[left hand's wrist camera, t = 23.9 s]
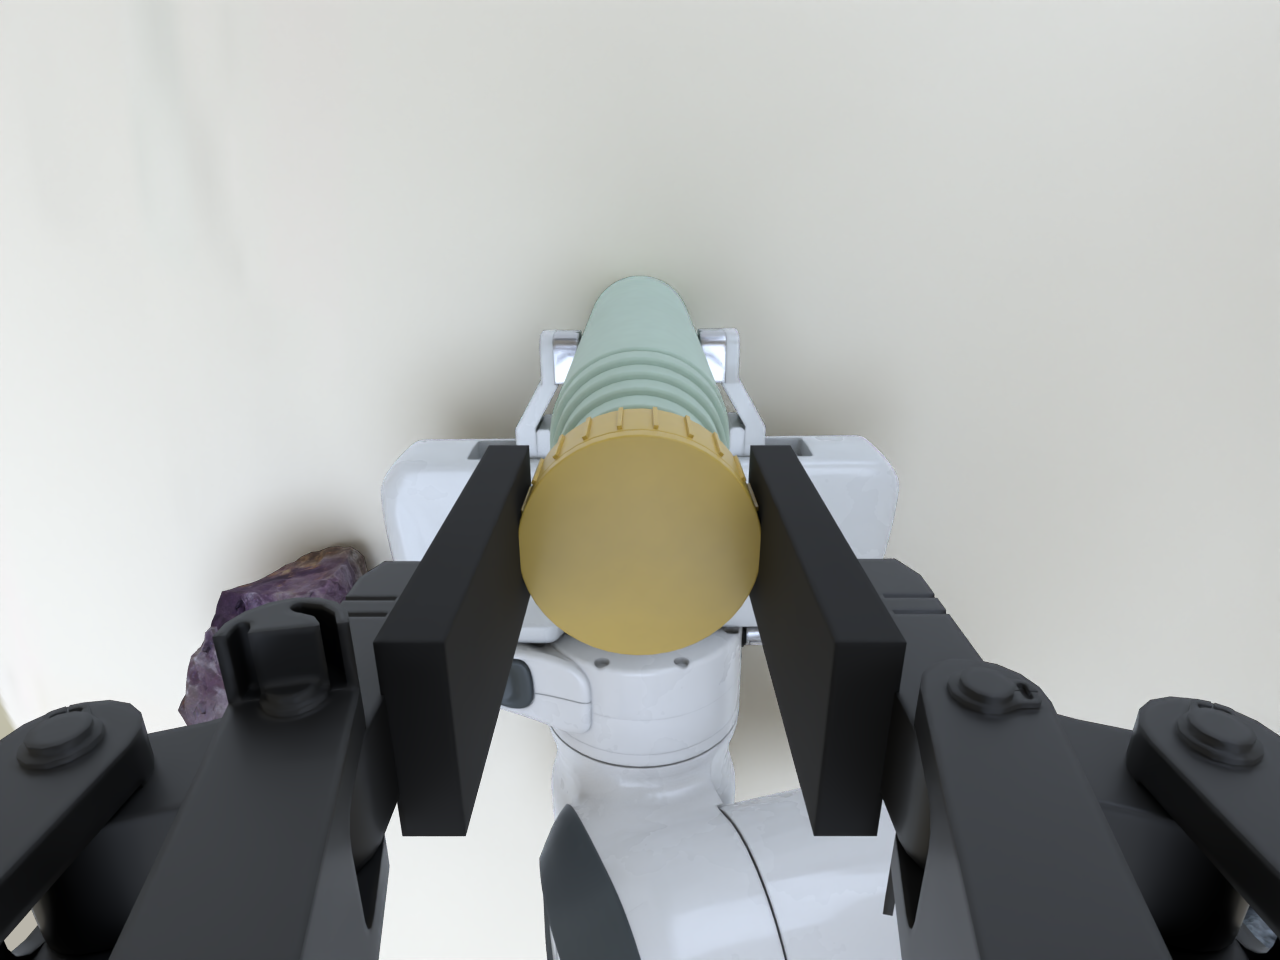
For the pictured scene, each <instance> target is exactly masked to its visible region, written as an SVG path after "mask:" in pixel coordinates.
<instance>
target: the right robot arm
mask: <svg viewBox="0 0 1280 960" xmlns="http://www.w3.org/2000/svg"><path fill="white" fill-rule="evenodd" d="M697 336H698V339H699V341H700V344H701V346H702V349H703V351H704V354H705V357H706V359H707V362H708V364H709V367H710V369H711V372H712V374H713V377H714V379H715V382H721V384H722V386H723V388H724V389H725V391H726V393H727V395H728V397H729V398H730V400H731V402H732V404H733V406H734V407H735V409H736V411H737V413H738V415H737V414H736V413H735V412H727V416H728V422H729V436H730V447H729V451H730V452H731V453H732V455H733V456H735V455H737V457H738V458H739V461H740V464H741V466H742V469H743V472H744V474H745V477H746V483H748V478H749V460H750V445H791V447H792V449H793V450H794V452H795V454H796V456H797V457H798V459H799V461H800V462H801V464H802V466H803V467H804V469H805V471H806V472H807V474H808V476H809V478H810V479H811V481H812V483H813V484H814V486H815V488H816V489H817V491H818V493H819V495H820V496H821V498H822V500H823V501H824V503H825V505H826V506H827V508H828V510H829V511H830V513H831V515H832V517H833V518H834V520H835V522H836V523H837V525H838V527H839V528H840V530H841V532H842V534H843V535H844V537H845V539H846V540H847V542H848V544H849V545H850V547H851V549H852V550H853V552H854V554H855V556H856V557H857V559H883V558H884V555H885V551H886V548H887V544H888V540H889V537H890V533H891V528H892V524H893V519H894V515H895V510H896V504H897V499H898V492H899V480H898V477H897V474H896V472H895V470H894V469H893V467H892V466H891V464H890V463H889V461H888V460H887V459H886V457H885V456H884V455H883V454H882V453H881V452H880V451H879V450H878V449H877V448H876V447H875V446H874V445H873V444H872V443H871V442H869V441H868V440H867V439H866V438H864V437H862V436H857V435H835V436H765V433H766V426H765V424H764V422H763V421H762V419H761V417H760V415H759V413H758V411H757V409H756V407H755V406H754V404H753V402H752V400H751V398H750V396H749V395H748V393H747V391H746V389H745V387H744V385H743V384H742V382H741V380H740V378H739V355H740V339H739V332H738V331H737V330H736V328H712V329H698V332H697ZM581 338H582V332H581V330H543V332H542V333H541V335H540V346H539V349H540V366H541V380H540V382H539V384H538V386H537V388H536V390H535V392H534V394H533V396H532V398H531V400H530V402H529V404H528V405H527V407H526V409H525V411H524V413H523V415H522V417H521V419H520V421H519V423H518V425H517V427H516V429H515V432H516V439H426V440H419V441H417V442H415V443H413V444H412V445H411V446H410V447H409V448H408V449H407V450H406V451H405V452H404V453H403V454H402V455H401V456H400V457H399V458H398V459H397V460H396V461H395V463H394V464H393V465H392V467H391V468H390V469H389V471H388V472H387V474H386V476H385V478H384V480H383V483H382V487H381V500H382V509H383V515H384V521H385V526H386V531H387V536H388V541H389V545H390V549H391V553H392V557H393V561H421V560H422V558H423V556H424V555H425V553H426V551H427V550H428V548H429V546H430V544H431V543H432V541H433V539H434V538H435V536H436V534H437V533H438V531H439V529H440V528H441V526H442V524H443V522H444V521H445V519H446V517H447V516H448V514H449V512H450V511H451V509H452V507H453V506H454V504H455V502H456V500H457V499H458V497H459V495H460V494H461V492H462V490H463V489H464V487H465V485H466V483H467V482H468V480H469V478H470V477H471V475H472V473H473V472H474V470H475V468H476V467H477V465H478V463H479V461H480V460H481V458H482V456H483V455H484V453H485V451H486V450H487V448H488V446H489V445H529V451H530V469H531V482H532V479H533V476H534V474H535V471H536V468H537V466H538V463H539V461H540V459H541V458H542V459H545V457H546V456H547V454H548V453H549V451H550V428H551V418H552V414H546V415H544V416H543V414H544V412H545V410H546V408H547V406H548V404H549V402H550V401H551V399H552V397H553V395H554V393H555V391H556V389H557V387H558V385H559V384H563V383H564V381H565V378H566V376H567V373H568V371H569V368H570V366H571V363H572V361H573V358H574V356H575V353H576V350H577V348H578V345H579V343H580V340H581ZM532 485H533V484H531V486H532ZM744 645H762V642H761V638H760V634H759V630H758V627H757V623H756V619H755V616H754V612H753V608H752V604H751V601H750V597H749V596H748V597H747V599H746V600H745V602H744V603H743V605H742V606H741V608H740V609H739V610H738V611H737V612H736V614H735V615H734V616H733V617H732V618H731V619H730V620H729V621H728V622H727V623H726V624H724V625H723V626H722V627H721V628H720V629H718V630H717V631H715V632H714V633H713V634H711V635H710V636H708V637H706V638H704V639H702V640H701V641H699V642H697V643H695V644H692V645H690V646H687V647H685V648H682V649H678V650H675V651H671V652H667V653H660V654H654V655H627V654H619V653H613V652H608V651H605V650H601V649H598V648H595V647H592V646H590V645H587V644H585V643H583V642H581V641H579V640H577V639H575V638H573V637H572V636H570V635H568V634H567V633H565V632H564V631H563V630H561V629H560V628H559V627H557V626H556V625H555V624H554V623H553V622H552V621H551V620H550V619H549V618H548V617H547V616H546V615H545V614H544V613H543V612H542V611H541V609H540V608H539V607H538V606H537V604H536V603H535V601H534V600H533V598H532V596H531V595H530V599H529V603H528V606H527V610H526V614H525V617H524V621H523V625H522V629H521V632H520V636H519V640H518V644H517V647H516V651H515V655H514V658H513V662H512V666H511V670H510V673H509V677H508V681H507V684H506V688H505V692H504V696H503V699H502V703H501V707H500V709H503V710H506V711H510V712H513V713H516V714H519V715H522V716H525V717H528V718H531V719H534V720H537V721H540V722H542V723H545V724H547V725H549V728H550V731H551V733H552V736H553V738H554V740H555V742H556V744H557V748H558V751H557V755H556V758H555V762H554V765H553V771H552V799H553V812H554V820H555V822H554V824H553V826H552V828H551V831H550V833H549V836H548V838H547V840H546V843H545V845H544V848H543V851H542V853H541V856H540V876H541V884H542V891H543V900H544V919H545V938H546V951H547V960H902V958H901V949H900V941H899V932H898V924H897V915H896V907H895V905H894V911H893V916H890V915H884V914H883V908H884V901H885V894H886V888H887V882H888V876H889V870H890V864H891V858H892V852H893V846H894V840H895V834H896V831H895V829H894V826H893V824H892V821H891V819H890V816H889V814H888V811H887V809H886V806H885V804H884V801H883V800H882V807H881V813H880V820H879V826H878V833H877V836H814V835H813V831H812V828H811V824H810V820H809V816H808V813H807V809H806V805H805V802H804V798H803V794H802V790H801V788H799V789H794V790H790V791H785V792H781V793H776V794H772V795H767V796H763V797H758V798H754V799H750V800H745V801H741V802H736V803H734V801H735V771H734V766H733V762H732V759H731V755H730V752H729V743H730V741H731V738H732V736H733V734H734V731H735V728H736V724H737V720H738V713H739V698H740V677H741V647H743V646H744Z"/></svg>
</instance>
